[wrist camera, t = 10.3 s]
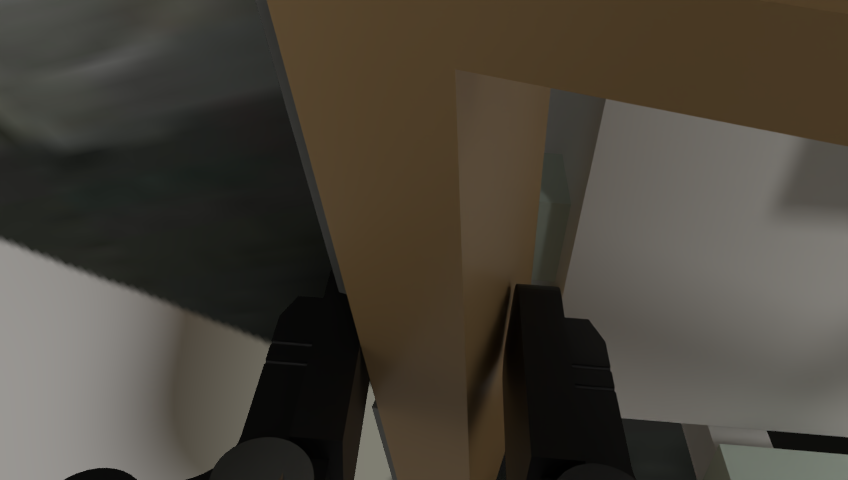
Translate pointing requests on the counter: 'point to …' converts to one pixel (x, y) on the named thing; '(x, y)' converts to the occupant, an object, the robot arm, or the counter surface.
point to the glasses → (499, 162)
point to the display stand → (705, 276)
